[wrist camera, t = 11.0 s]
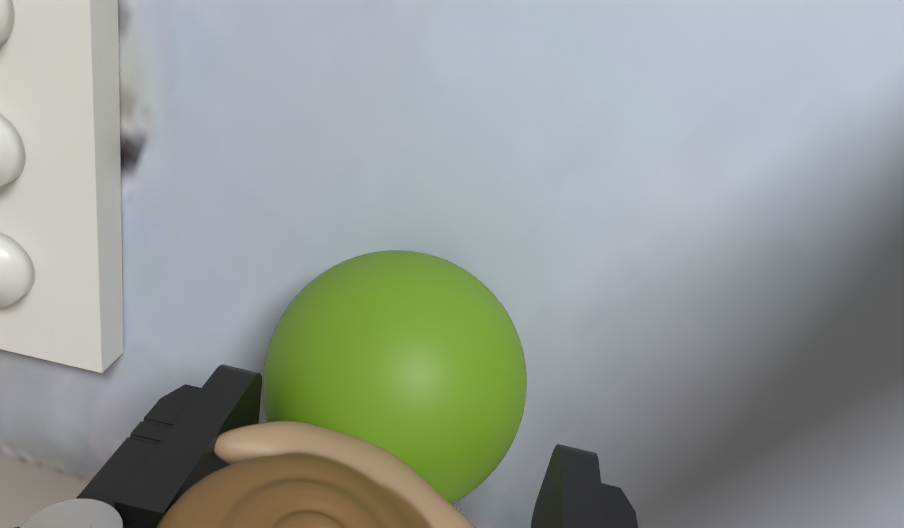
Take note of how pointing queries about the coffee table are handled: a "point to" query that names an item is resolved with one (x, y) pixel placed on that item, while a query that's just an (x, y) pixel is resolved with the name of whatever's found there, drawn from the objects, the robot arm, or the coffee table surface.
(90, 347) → the build plate
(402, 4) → the coffee table surface
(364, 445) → the snail figurine
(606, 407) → the coffee table surface
